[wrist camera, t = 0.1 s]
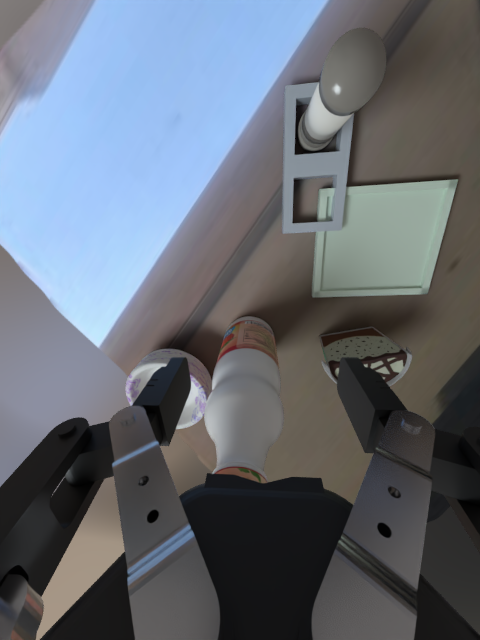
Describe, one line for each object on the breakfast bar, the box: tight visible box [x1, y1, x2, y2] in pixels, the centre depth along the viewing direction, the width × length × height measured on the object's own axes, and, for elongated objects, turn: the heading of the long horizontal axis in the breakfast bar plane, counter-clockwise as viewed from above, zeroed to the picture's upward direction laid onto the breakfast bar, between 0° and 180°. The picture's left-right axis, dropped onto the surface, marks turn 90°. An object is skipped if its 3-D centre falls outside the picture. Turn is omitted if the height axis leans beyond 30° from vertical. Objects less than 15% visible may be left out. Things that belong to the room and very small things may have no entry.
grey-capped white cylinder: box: [297, 28, 386, 153], centre depth 25 cm, size 5×5×14 cm
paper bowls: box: [126, 349, 212, 429], centre depth 45 cm, size 15×15×8 cm
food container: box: [319, 326, 412, 386], centre depth 39 cm, size 12×6×10 cm, turn 103°
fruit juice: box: [204, 316, 284, 483], centre depth 32 cm, size 9×9×28 cm
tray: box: [312, 179, 458, 298], centre depth 36 cm, size 16×18×1 cm
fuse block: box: [282, 82, 354, 234], centre depth 32 cm, size 17×8×2 cm, turn 3°
